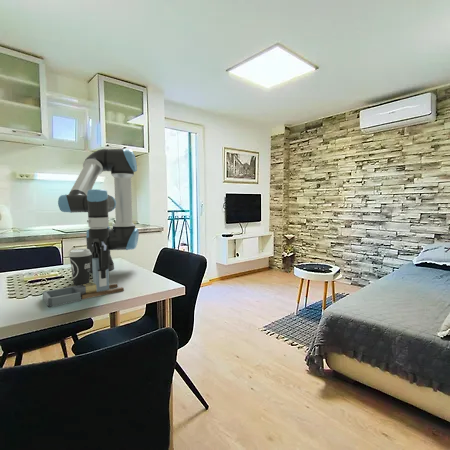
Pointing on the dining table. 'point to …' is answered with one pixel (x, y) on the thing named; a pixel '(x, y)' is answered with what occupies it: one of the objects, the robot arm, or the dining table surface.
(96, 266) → the blue grey rectangular box
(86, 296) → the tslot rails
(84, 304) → the dining table surface
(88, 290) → the chip brass
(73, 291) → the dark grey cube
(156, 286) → the dining table surface
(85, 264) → the coffee cup
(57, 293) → the tray
